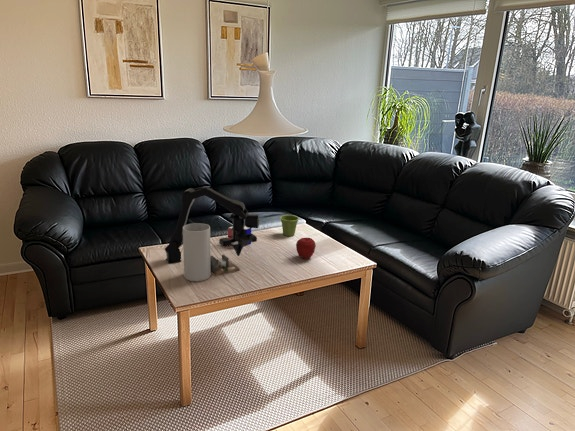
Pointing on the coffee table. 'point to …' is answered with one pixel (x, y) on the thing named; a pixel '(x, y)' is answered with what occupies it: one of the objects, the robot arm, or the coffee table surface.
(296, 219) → the plant pot
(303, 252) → the apple
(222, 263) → the gauge carriage
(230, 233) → the puzzle cube
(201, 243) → the cylinder vase
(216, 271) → the gauge stand
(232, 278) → the coffee table surface
